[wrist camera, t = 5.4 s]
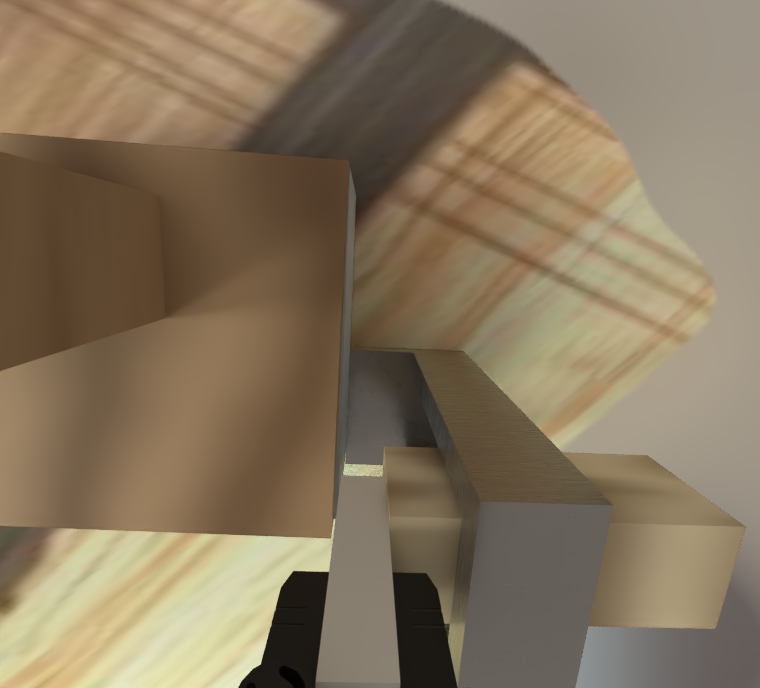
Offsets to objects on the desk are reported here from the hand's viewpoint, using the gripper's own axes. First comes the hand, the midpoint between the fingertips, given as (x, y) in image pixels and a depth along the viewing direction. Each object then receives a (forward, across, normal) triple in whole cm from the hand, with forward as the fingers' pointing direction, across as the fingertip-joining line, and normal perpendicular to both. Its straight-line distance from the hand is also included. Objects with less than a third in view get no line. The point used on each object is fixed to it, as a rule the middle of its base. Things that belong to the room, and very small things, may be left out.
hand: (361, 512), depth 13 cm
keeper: (+10, +2, 0) cm, 10 cm away
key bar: (+1, +6, 0) cm, 6 cm away
